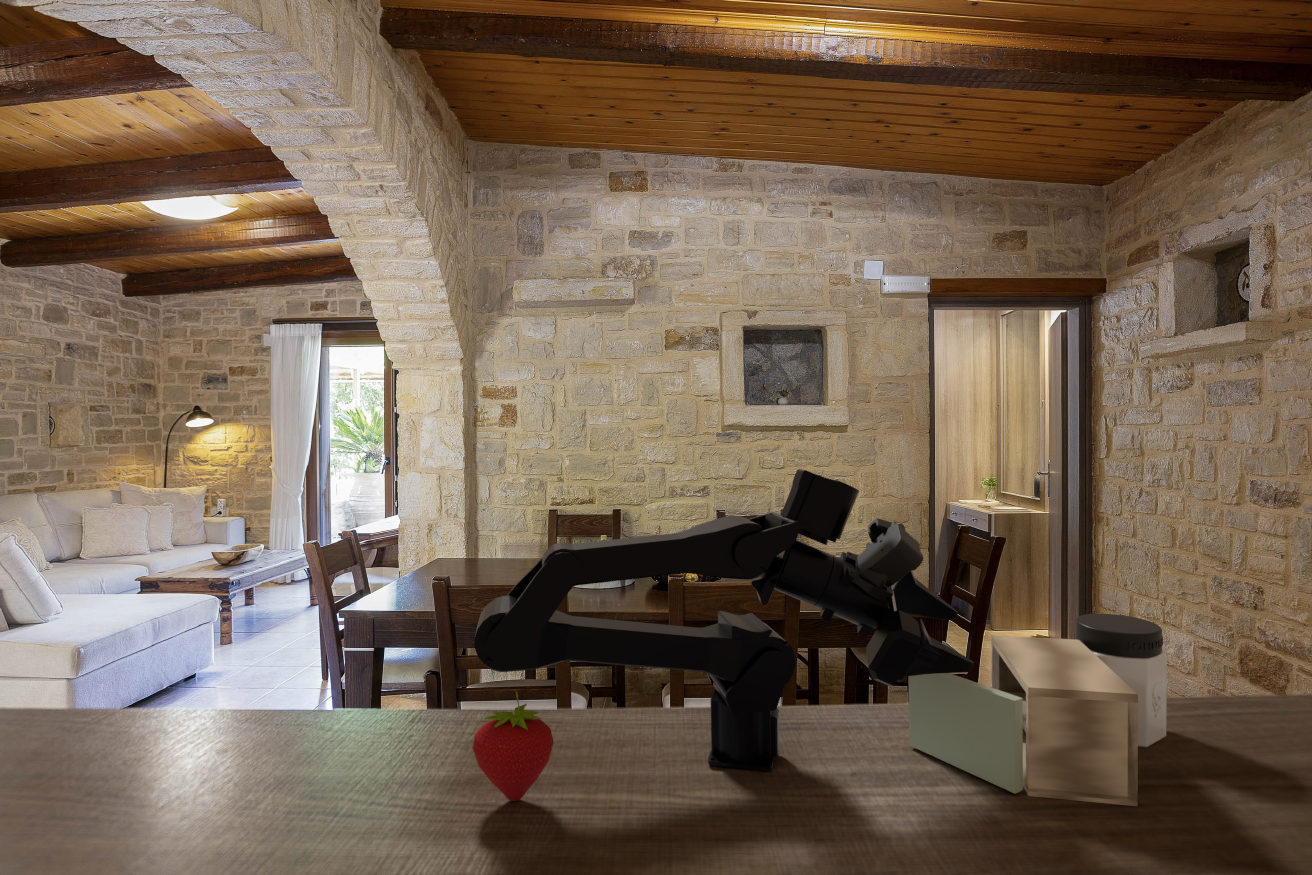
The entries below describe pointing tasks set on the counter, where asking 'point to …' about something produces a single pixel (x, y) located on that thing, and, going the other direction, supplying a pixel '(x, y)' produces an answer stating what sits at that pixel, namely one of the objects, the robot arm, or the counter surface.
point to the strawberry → (513, 750)
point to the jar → (1132, 664)
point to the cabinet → (1070, 719)
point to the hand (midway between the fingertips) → (963, 640)
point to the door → (968, 727)
